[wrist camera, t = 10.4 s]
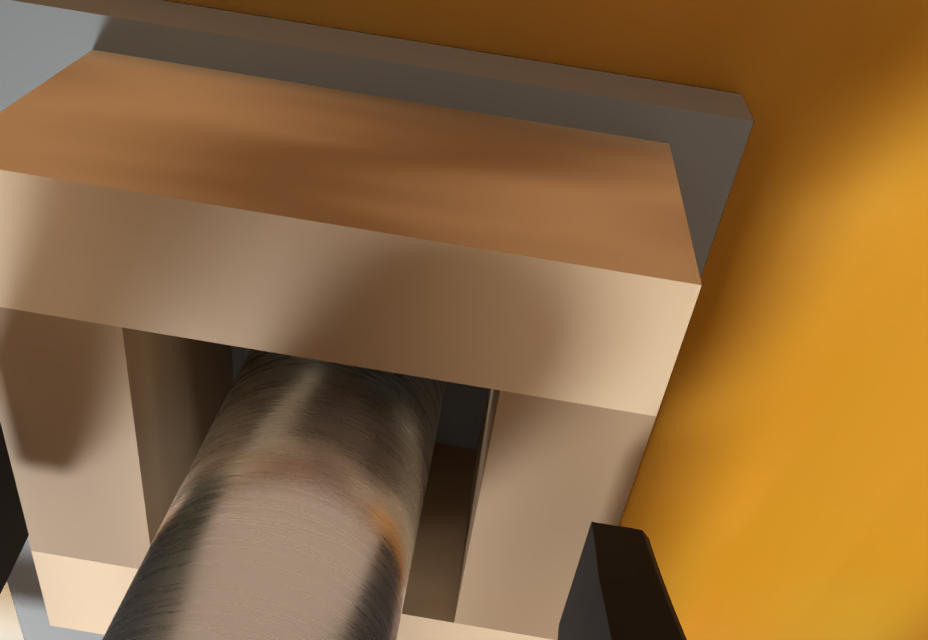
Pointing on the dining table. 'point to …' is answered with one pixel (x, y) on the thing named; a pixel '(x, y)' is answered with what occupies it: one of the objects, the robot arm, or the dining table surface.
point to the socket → (329, 313)
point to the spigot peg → (293, 510)
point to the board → (386, 75)
